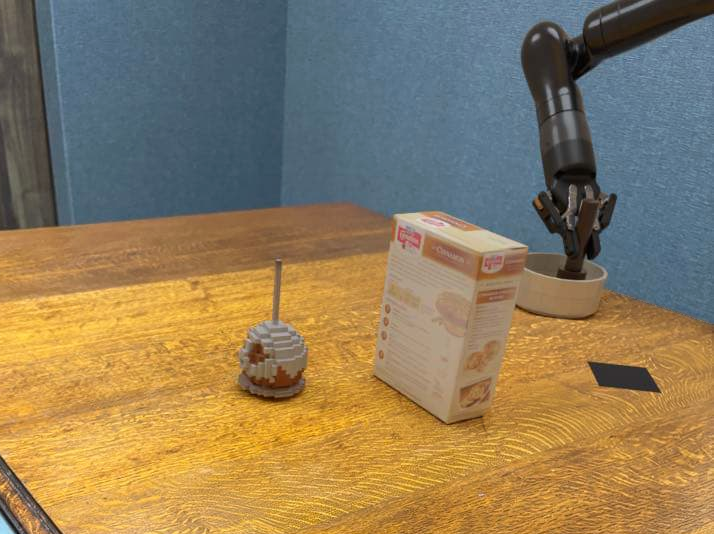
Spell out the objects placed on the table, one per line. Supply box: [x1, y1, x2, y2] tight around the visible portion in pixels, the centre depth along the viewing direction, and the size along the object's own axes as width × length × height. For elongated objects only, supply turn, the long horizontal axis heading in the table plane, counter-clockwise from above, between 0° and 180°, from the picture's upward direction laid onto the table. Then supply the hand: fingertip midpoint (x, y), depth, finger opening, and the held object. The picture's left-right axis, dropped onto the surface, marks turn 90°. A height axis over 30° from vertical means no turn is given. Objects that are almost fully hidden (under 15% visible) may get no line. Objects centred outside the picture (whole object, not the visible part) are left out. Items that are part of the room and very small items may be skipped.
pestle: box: [556, 199, 600, 280], centre depth 123 cm, size 4×4×14 cm
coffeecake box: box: [372, 210, 530, 425], centre depth 93 cm, size 15×7×20 cm, turn 32°
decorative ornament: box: [237, 258, 309, 399], centre depth 93 cm, size 8×8×15 cm
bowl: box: [515, 251, 609, 320], centre depth 128 cm, size 14×14×6 cm
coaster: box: [587, 360, 662, 394], centre depth 107 cm, size 8×8×1 cm
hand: (584, 257), depth 122 cm, fingers closed on pestle, 2 cm apart
